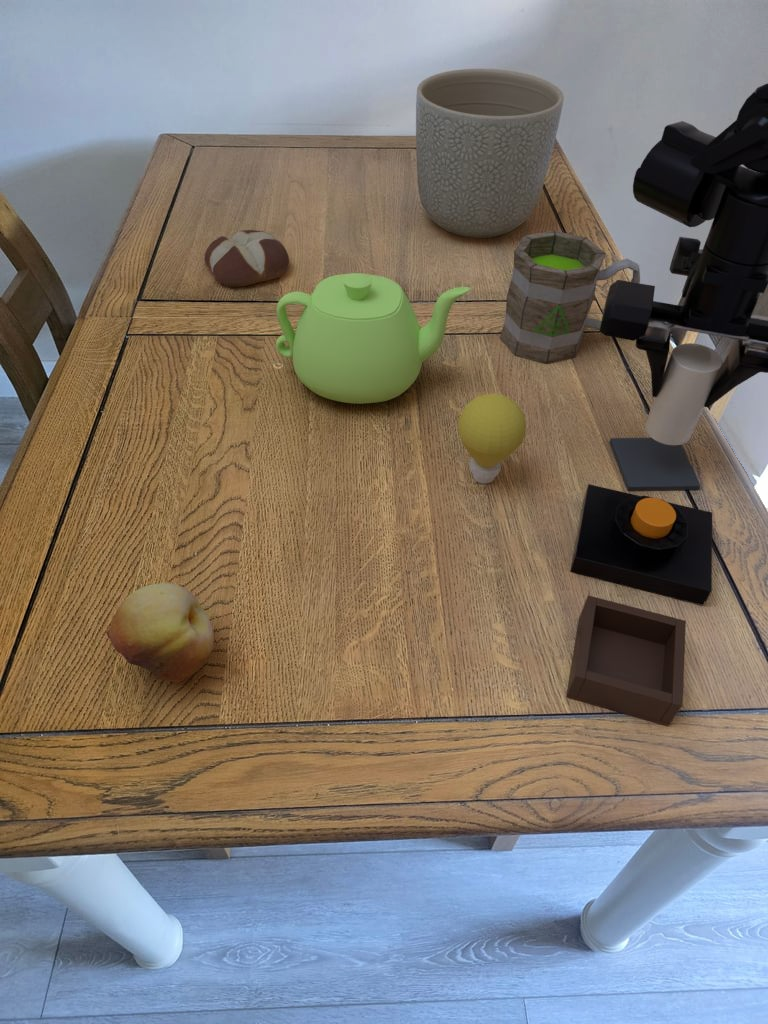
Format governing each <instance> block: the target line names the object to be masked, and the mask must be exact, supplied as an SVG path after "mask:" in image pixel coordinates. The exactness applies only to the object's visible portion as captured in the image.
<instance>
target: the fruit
mask: <svg viewBox="0 0 768 1024" xmlns="http://www.w3.org/2000/svg"><path fill="white" fill-rule="evenodd" d="M109 626H110V627H109V628H108V630H107V631H106V635H107V636H108V639H109V641H110V643H111V645H112V647H113V649H115V651H116V653H118V654H121V656H122V657H124V659H125V660H126V662H127V663H128V664H130V665H133V666H137V667H140V668H143V669H146V670H148V671H150V672H151V674H153V675H154V676H155V678H156V679H157V680H159V681H168V682H172V683H178V682H179V683H180V682H182V681H184V680H185V679H188V678H190V677H191V676H193V675H194V674H195V673H197V672H199V670H200V669H202V668H203V666H204V665H205V664H206V662H207V661H208V659H209V658H210V655H211V653H212V651H213V647H214V642H215V641H214V640H215V632H214V626H213V624H212V622H211V620H210V618H209V616H208V614H207V613H206V611H205V610H204V608H203V606H202V605H201V603H200V601H199V600H198V598H197V596H195V595H194V594H193V592H191V591H190V590H189V589H187V588H186V587H184V586H181V585H178V584H175V583H168V582H159V583H158V582H157V583H152V584H149V585H145V586H143V587H140V588H138V589H136V590H135V591H133V592H131V593H130V594H129V595H128V596H127V597H126V598H124V600H122V602H121V603H120V604H119V606H118V607H117V609H116V611H115V614H114V615H113V619H112V622H111V624H110V625H109Z"/></svg>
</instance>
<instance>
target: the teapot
mask: <svg viewBox="0 0 768 1024" xmlns="http://www.w3.org/2000/svg"><path fill="white" fill-rule="evenodd" d="M469 291H470V287H469V286H459V287H454V288H453V287H452V288H451V289H447V290H446V291H444V292H443V293H441V294H440V295H439V297H438V298H437V300H436V302H435V304H434V307H433V312H432V317H431V319H430V321H429V322H428V323H427V324H425V325H424V326H422V327H421V326H420V323H419V321H418V317H417V314H416V312H415V310H414V308H413V306H412V304H411V302H410V300H409V297H408V296H407V295H406V293H405V291H404V290H403V288H402V287H401V285H400V284H398V282H396V281H394V280H392V279H390V278H387V277H385V276H384V277H383V276H380V275H375V274H369V273H368V274H367V273H362V272H352V273H344V274H343V273H342V274H337V275H331V276H329V277H326V278H324V279H322V280H321V281H320V282H318V283H317V285H316V287H315V288H314V290H313V291H312V293H311V294H309V293H306V292H303V291H292V292H289V293H288V292H287V293H286V294H285V295H283V296H282V297H281V298H280V299H279V300H278V302H277V305H276V311H275V312H276V318H277V322H278V324H279V326H280V329H281V331H282V333H283V334H282V335H280V336H278V337H277V339H276V341H275V349H276V352H277V353H278V354H279V355H281V356H282V357H284V358H286V359H287V358H292V365H293V370H294V372H295V375H296V377H297V378H298V379H299V381H300V382H301V383H302V384H303V385H304V386H305V387H306V388H308V389H309V390H310V391H312V392H313V393H314V394H316V395H317V396H320V397H322V398H325V399H328V400H331V401H336V402H341V403H346V404H359V405H360V404H373V403H380V402H381V403H383V402H388V401H390V400H392V399H395V398H397V397H399V396H400V395H402V394H403V393H405V392H406V391H407V390H408V389H409V388H410V387H411V386H412V385H413V383H415V381H416V380H417V378H418V377H419V374H420V372H421V369H422V366H423V362H425V361H426V360H428V359H431V357H433V356H434V355H435V354H436V353H437V352H438V351H439V349H440V347H441V346H442V344H443V340H444V339H445V334H446V329H447V323H448V318H449V313H450V310H451V308H452V307H453V305H454V304H455V302H456V301H458V299H460V298H461V297H462V296H464V295H465V294H467V293H468V292H469ZM292 304H293V305H295V304H296V305H302V306H304V308H303V309H302V312H301V315H300V317H299V319H298V322H297V325H296V329H295V330H294V328H293V326H292V324H291V322H290V319H289V317H288V313H287V306H288V305H292ZM285 343H287V344H288V345H286V344H285Z"/></svg>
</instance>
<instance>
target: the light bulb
mask: <svg viewBox="0 0 768 1024" xmlns="http://www.w3.org/2000/svg"><path fill="white" fill-rule="evenodd" d="M457 433H458V436H459V439H460V440H461V442H462V444H463V447H464V448H465V450H466V452H467V453H468V454H469V456H470V460H469V470H470V472H471V473H472V477H473V480H474V481H476V483H479V484H485V485H486V484H490V483H492V482H493V481H494V480H495V478H496V477H497V476H498V475H499V474H500V472H501V468H502V462H503V461H505V460H507V459H508V457H510V456H511V455H512V454H513V452H515V451H516V450H517V449H518V448H519V447H520V446H521V445H522V444H523V441H524V439H525V436H526V434H527V425H526V417H525V414H524V412H523V410H522V408H521V407H520V406H519V404H518V403H517V402H515V400H513V399H512V398H511V397H508V396H506V395H504V394H500V393H493V392H492V393H491V392H490V393H485V394H482V395H479V396H476V397H474V398H473V399H472V400H471V401H469V402H468V403H467V404H466V405H465V407H464V408H463V409H462V411H461V413H460V416H459V417H458V422H457Z"/></svg>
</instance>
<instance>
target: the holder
mask: <svg viewBox="0 0 768 1024" xmlns="http://www.w3.org/2000/svg"><path fill="white" fill-rule="evenodd" d="M577 621H578V622H577V628H576V633H575V639H574V645H573V651H572V652H573V653H572V657H571V658H572V659H571V665H570V670H569V676H568V684H567V689H566V694H565V697H566V698H567V699H571V700H575V701H578V702H582V703H586V704H589V705H592V706H596V707H599V708H603V709H607V710H609V711H613V712H617V713H619V714H623V715H627V716H631V717H634V718H637V719H641V720H644V721H648V722H652V723H654V724H657V725H661V726H665V727H669V726H670V725H671V723H672V722H673V720H674V719H675V717H676V716H677V714H678V713H679V711H680V710H681V709H682V707H683V705H684V704H683V703H684V682H685V681H684V679H685V677H684V676H685V653H686V652H685V651H686V627H687V621H686V620H684V619H680V618H676V617H673V616H669V615H666V614H662V613H658V612H654V611H650V610H647V609H642V608H639V607H635V606H631V605H627V604H622V603H619V602H615V601H611V600H607V599H603V598H601V597H596V596H593V595H587V596H586V599H585V601H584V604H583V607H582V609H581V611H580V615H579V616H578V620H577Z"/></svg>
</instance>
